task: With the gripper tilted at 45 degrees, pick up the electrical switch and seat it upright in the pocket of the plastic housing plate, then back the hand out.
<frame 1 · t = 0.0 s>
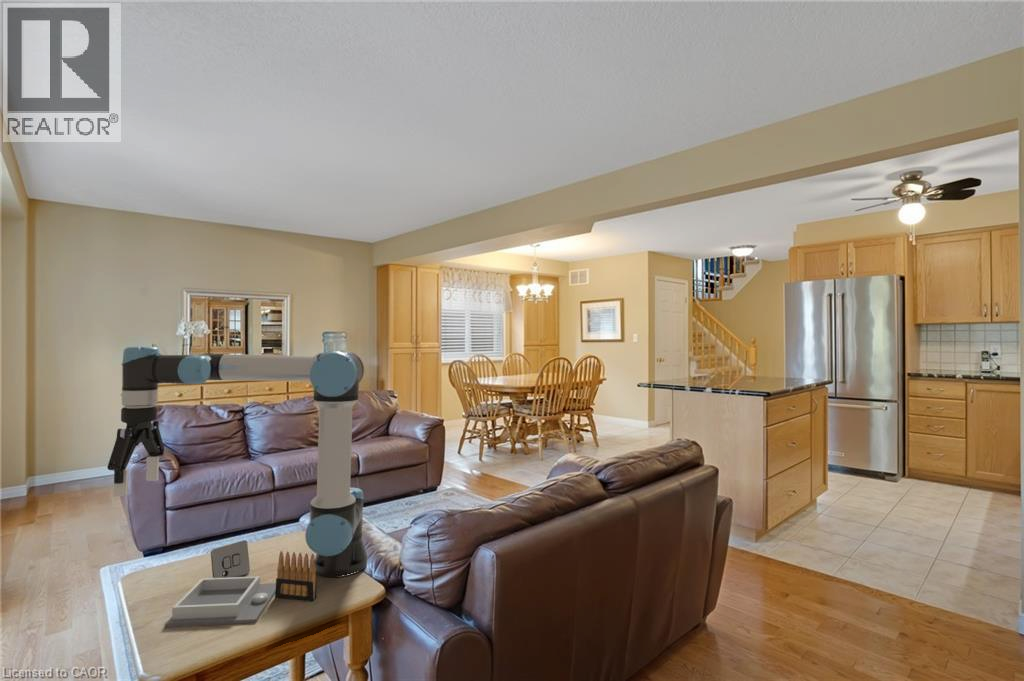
hand: (137, 488, 130), 28 cm above the table, tool pointing down, fingers open, 13 cm apart
ammunition clip: (295, 598, 131), on the table
electrical switch: (228, 577, 142), on the table
housing: (227, 604, 127), on the table
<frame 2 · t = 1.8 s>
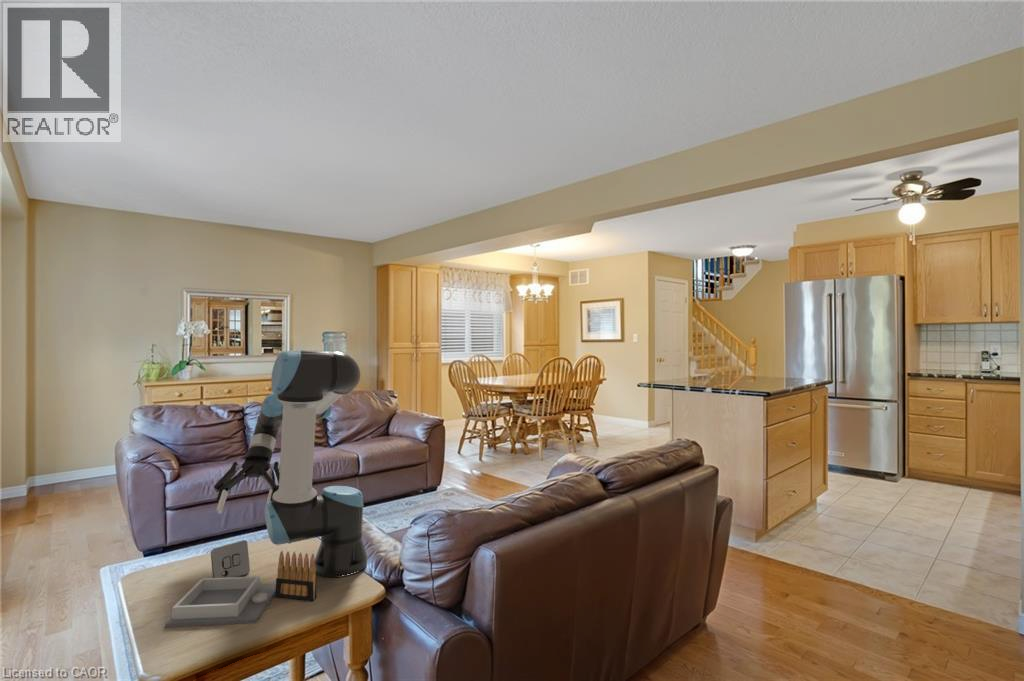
hand: (243, 511, 152), 15 cm above the table, tool tilted 45°, fingers open, 13 cm apart
nothing on the table moved.
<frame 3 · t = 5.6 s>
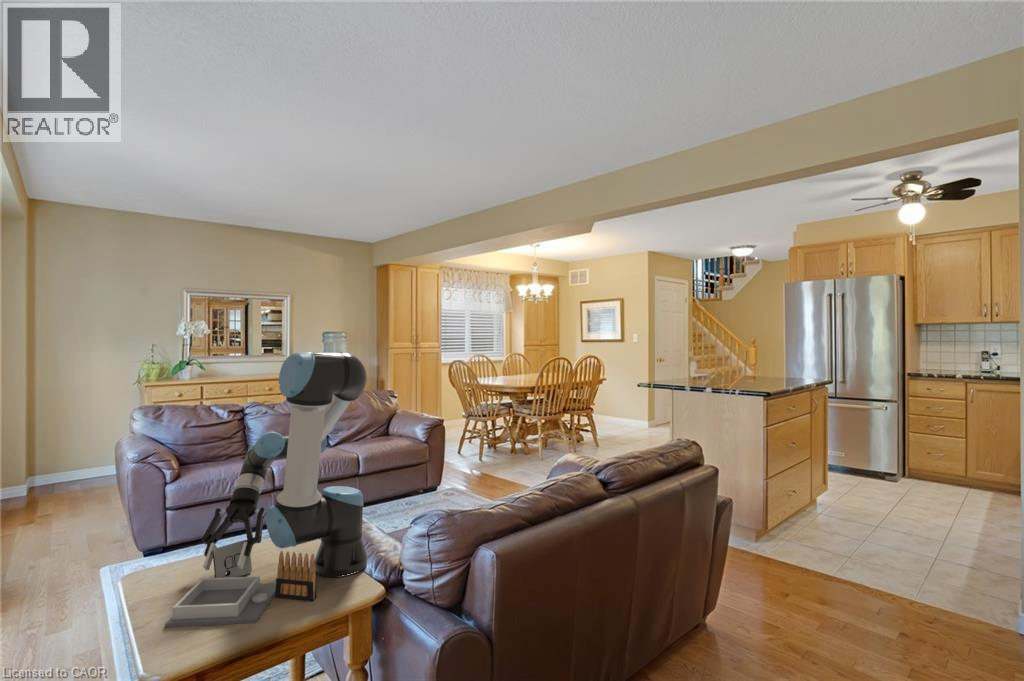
hand: (223, 567, 139), 4 cm above the table, tool tilted 45°, fingers closed on electrical switch, 8 cm apart
electrical switch: (230, 577, 142), on the table, touching gripper
everything else where it was.
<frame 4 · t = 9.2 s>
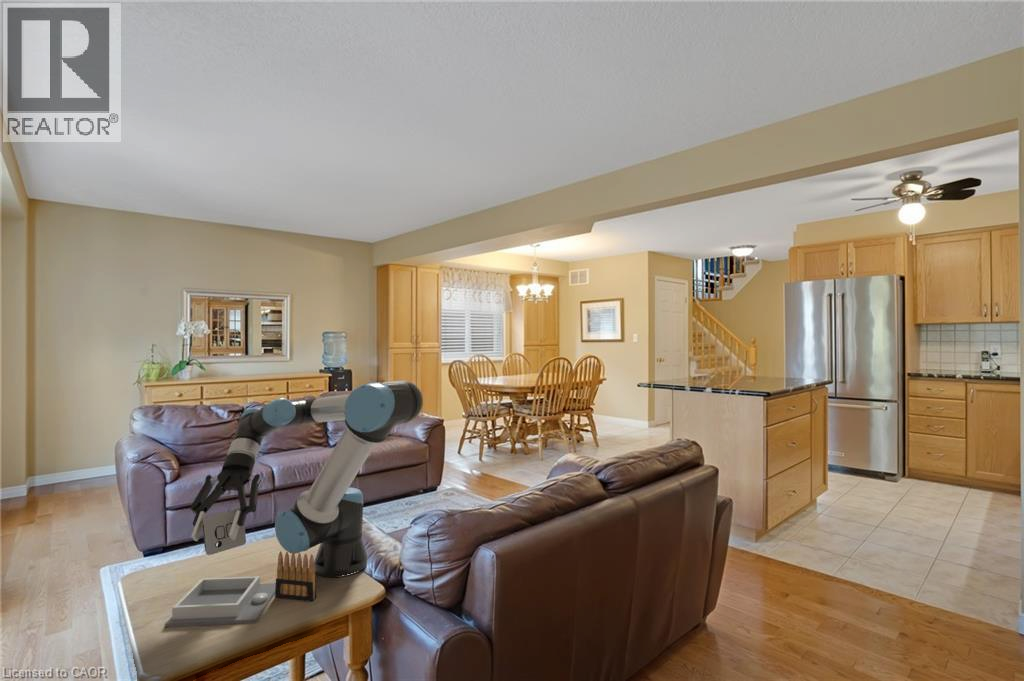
hand: (213, 538, 125), 18 cm above the table, tool tilted 45°, fingers closed on electrical switch, 8 cm apart
electrical switch: (222, 548, 128), point 13 cm above the table, touching gripper
everything else where it was.
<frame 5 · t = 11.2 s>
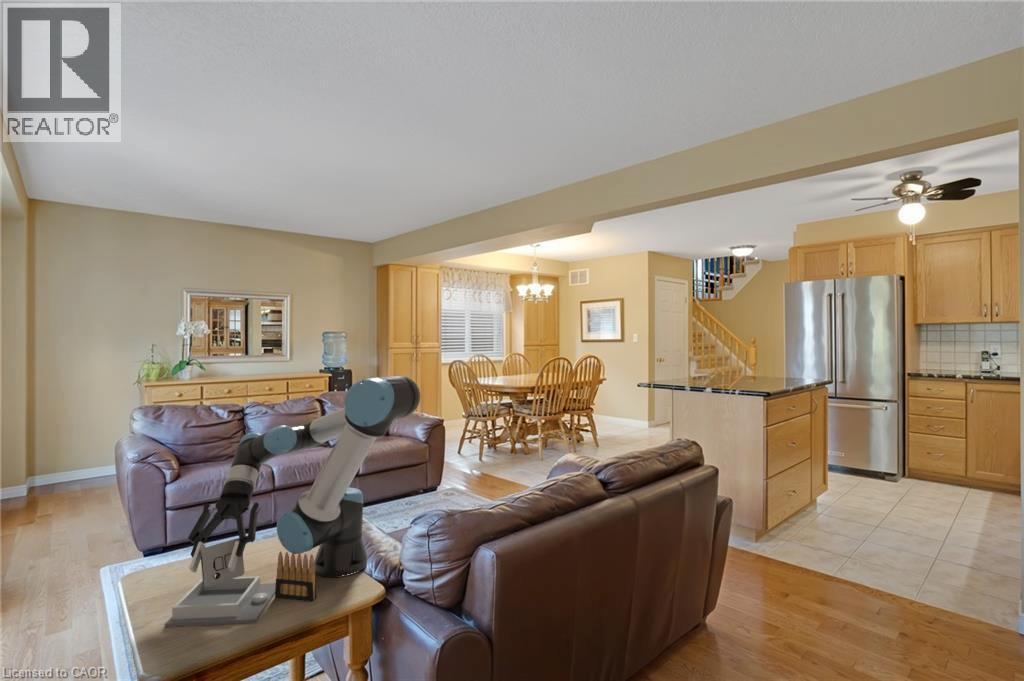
hand: (211, 569, 124), 10 cm above the table, tool tilted 45°, fingers closed on electrical switch, 8 cm apart
electrical switch: (220, 579, 127), point 6 cm above the table, touching gripper
everything else where it was.
when the fingers open (6 cm above the table, at t = 12.7 s): electrical switch drops 1 cm, resting on housing.
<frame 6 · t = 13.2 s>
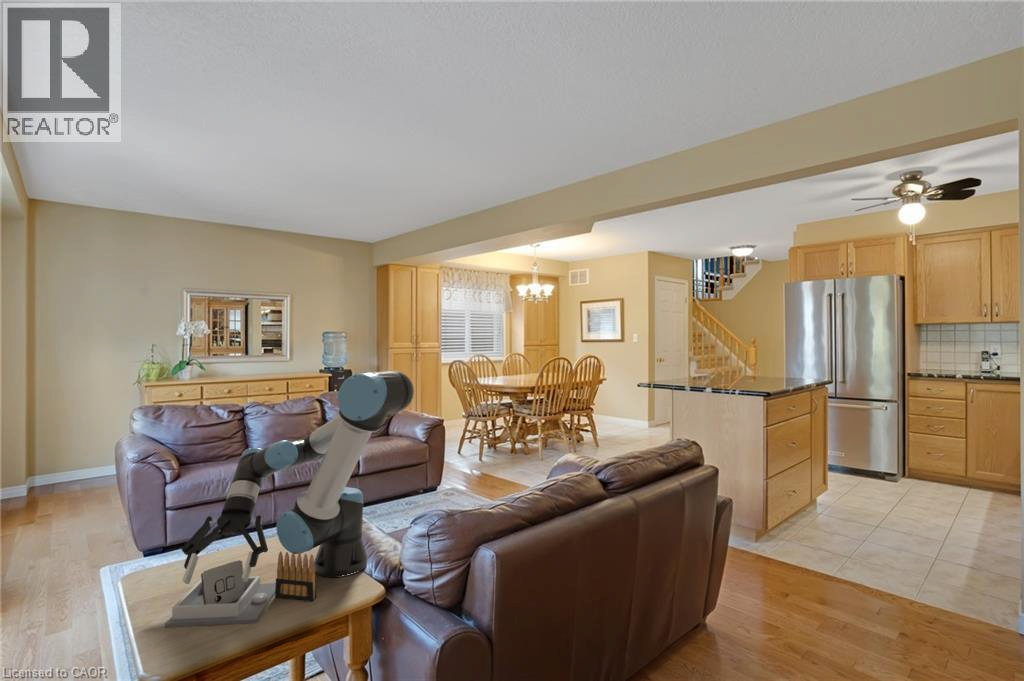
hand: (215, 581, 124), 7 cm above the table, tool tilted 45°, fingers open, 13 cm apart
electrical switch: (221, 602, 127), point 1 cm above the table, touching housing
everything else where it was.
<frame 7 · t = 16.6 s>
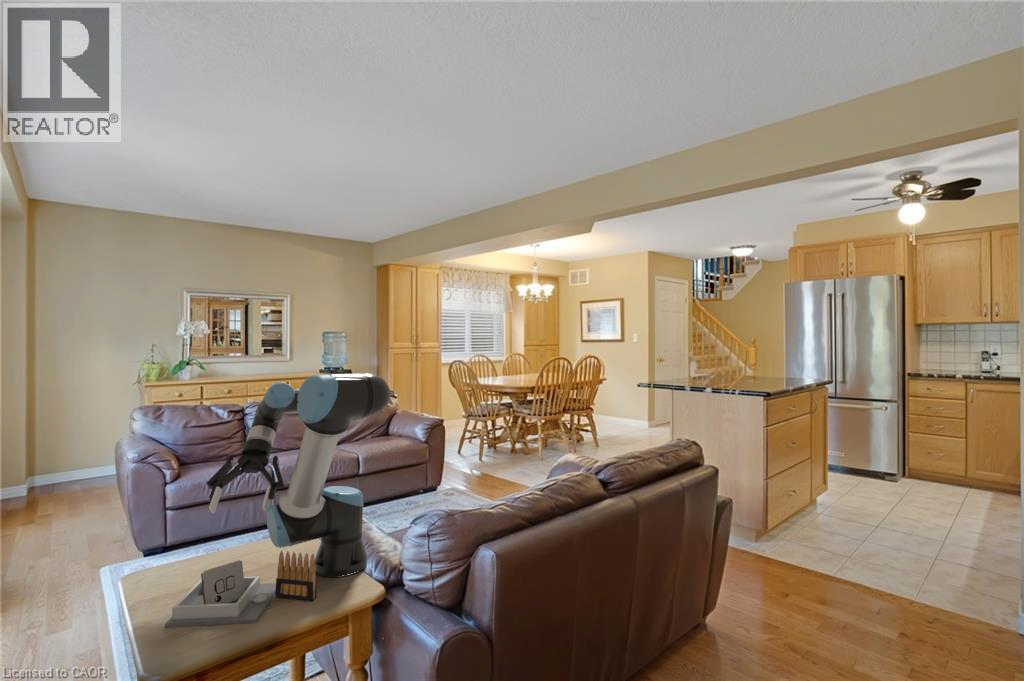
hand: (237, 510, 137), 20 cm above the table, tool tilted 45°, fingers open, 13 cm apart
nothing on the table moved.
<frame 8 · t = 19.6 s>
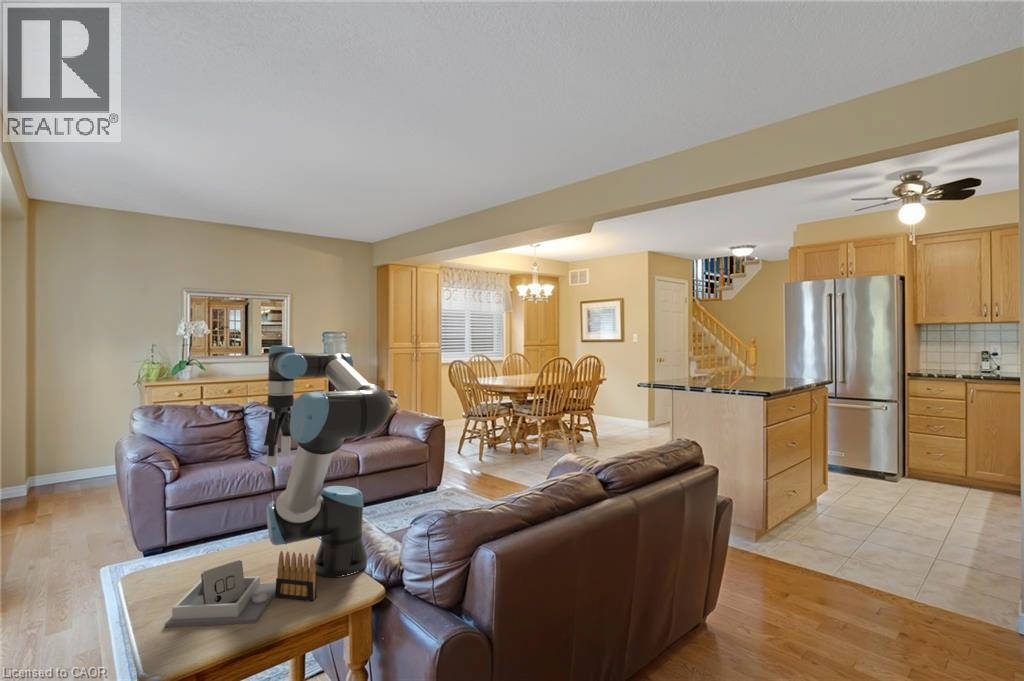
hand: (279, 461, 159), 29 cm above the table, tool pointing down, fingers open, 13 cm apart
nothing on the table moved.
at the end: electrical switch 0.5 cm from the target spot on the housing, point 0.6 cm above the housing's base; electrical switch tilted 1°; the gripper is holding nothing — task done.
